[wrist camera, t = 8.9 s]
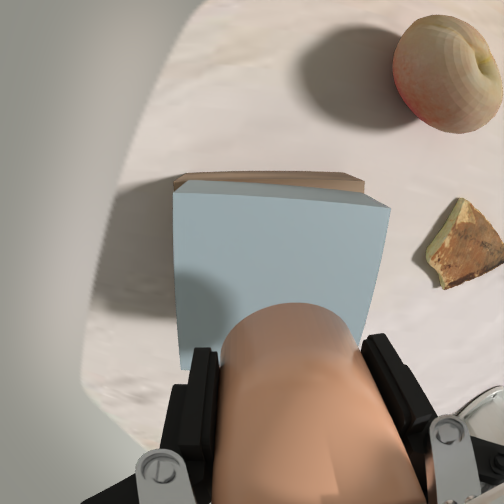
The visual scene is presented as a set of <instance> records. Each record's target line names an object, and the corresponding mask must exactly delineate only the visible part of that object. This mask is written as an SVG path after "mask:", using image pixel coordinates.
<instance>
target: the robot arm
mask: <svg viewBox="0 0 504 504" xmlns="http://www.w3.org/2000/svg"><path fill="white" fill-rule="evenodd" d="M361 354H362V356H363V358H364V360H365V362H366V364H367V366H368V368H369V370H370V373H371V375H372V377H373V379H374V381H375V383H376V385H377V387H378V390H379V392H380V394H381V396H382V398H383V400H384V402H385V405H386V407H387V409H388V411H389V413H390V416H391V418H392V420H393V422H394V425H395V427H396V429H397V431H398V434H399V436H400V438H401V441H402V443H403V445H404V448H405V450H406V452H407V455H408V457H409V459H410V462H411V464H412V467H413V469H414V471H415V474H416V476H417V479H418V481H419V484H420V486H421V489H422V491H423V494H424V496H425V499H426V503H427V504H504V386H499V387H495V388H493V389H491V390H489V391H487V392H485V393H484V394H482V395H481V396H479V397H478V398H477V399H475V400H474V401H473V402H472V403H471V404H469V405H468V406H467V407H466V408H465V409H464V410H463V411H462V412H461V413H460V414H459V415H458V416H454V415H441V416H439V417H438V416H437V414H436V412H435V411H434V409H433V407H432V405H431V404H430V402H429V400H428V399H427V397H426V395H425V393H424V392H423V390H422V388H421V387H420V385H419V383H418V382H417V380H416V378H415V377H414V375H413V373H412V372H411V370H410V368H409V367H408V366H407V365H405V364H403V362H402V361H401V359H400V357H399V356H398V354H397V352H396V351H395V349H394V348H393V346H392V344H391V343H390V341H389V340H388V338H387V336H386V335H385V334H384V333H381V334H374V335H369V336H368V337H367V339H366V340H364V341H363V343H362V348H361ZM218 382H219V360H218V353H217V351H212V350H211V347H195V348H194V352H193V357H192V362H191V368H190V374H189V379H188V384H174V385H173V387H172V391H171V395H170V400H169V405H168V409H167V414H166V419H165V424H164V428H163V433H162V438H161V443H160V449H155V450H151V451H148V452H147V453H145V454H143V455H142V456H141V457H140V458H139V459H138V462H137V464H136V470H135V472H136V473H135V474H133V475H131V476H129V477H128V478H126V479H124V480H122V481H120V482H119V483H117V484H115V485H113V486H111V487H110V488H108V489H106V490H104V491H102V492H100V493H98V494H96V495H94V496H92V497H90V498H88V499H86V500H85V501H83V502H82V503H81V504H209V503H211V498H212V476H213V463H214V447H215V429H216V412H217V397H218Z"/></svg>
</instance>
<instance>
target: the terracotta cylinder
mask: <svg viewBox="0 0 504 504" xmlns="http://www.w3.org/2000/svg"><path fill="white" fill-rule="evenodd" d="M211 504H427V503H426V499H425V496H424V494H423V491H422V489H421V486H420V484H419V481H418V479H417V476H416V474H415V471H414V469H413V467H412V464H411V462H410V459H409V457H408V455H407V452H406V450H405V448H404V445H403V443H402V441H401V438H400V436H399V434H398V431H397V429H396V427H395V425H394V422H393V420H392V418H391V416H390V413H389V411H388V409H387V407H386V405H385V402H384V400H383V398H382V396H381V394H380V392H379V390H378V387H377V385H376V383H375V381H374V379H373V377H372V375H371V373H370V370H369V368H368V366H367V364H366V362H365V360H364V358H363V356H362V354H361V352H360V350H359V348H358V346H357V344H356V342H355V340H354V338H353V336H352V334H351V332H350V330H349V328H348V326H347V325H346V323H345V322H344V321H343V320H342V319H341V318H340V317H339V316H338V315H336V314H335V313H334V312H332V311H330V310H328V309H326V308H324V307H321V306H318V305H314V304H309V303H283V304H277V305H273V306H269V307H266V308H263V309H260V310H258V311H256V312H254V313H252V314H250V315H249V316H247V317H245V318H244V319H243V320H241V321H240V322H239V323H238V324H237V325H236V326H235V327H234V328H233V329H232V330H231V331H230V332H229V334H228V335H227V336H226V338H225V340H224V342H223V345H222V348H221V352H220V362H219V382H218V397H217V412H216V429H215V447H214V463H213V476H212V498H211Z"/></svg>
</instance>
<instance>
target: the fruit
mask: <svg viewBox="0 0 504 504" xmlns="http://www.w3.org/2000/svg"><path fill="white" fill-rule="evenodd" d="M393 77H394V81H395V85H396V87H397V90H398V92H399V94H400V96H401V97H402V99H403V100H404V102H405V103H406V105H407V106H408V107H409V108H410V110H411V111H412V112H413V113H414V114H415V115H416V116H417V117H418V118H419V119H421V120H422V121H424V122H425V123H426V124H428V125H430V126H432V127H434V128H436V129H438V130H441V131H444V132H449V133H456V134H462V133H467V132H472V131H475V130H477V129H479V128H481V127H482V126H484V125H486V124H487V123H488V122H489V121H490V120H491V119H492V118H493V117H494V116H495V115H496V113H497V111H498V109H499V107H500V105H501V102H502V97H503V87H502V80H501V76H500V72H499V69H498V67H497V64H496V62H495V59H494V58H493V56H492V54H491V52H490V49H489V46H488V44H487V43H486V41H485V39H484V38H483V36H482V35H481V34H480V33H479V32H478V31H477V30H476V29H475V28H474V27H472V26H471V25H469V24H468V23H466V22H464V21H462V20H460V19H457V18H455V17H452V16H446V15H430V16H427V17H423V18H420V19H418V20H416V21H415V22H414V23H413V24H412V25H411V26H410V27H409V28H408V29H407V30H406V31H405V33H404V34H403V35H402V37H401V39H400V41H399V42H398V45H397V47H396V49H395V52H394V57H393Z"/></svg>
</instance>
